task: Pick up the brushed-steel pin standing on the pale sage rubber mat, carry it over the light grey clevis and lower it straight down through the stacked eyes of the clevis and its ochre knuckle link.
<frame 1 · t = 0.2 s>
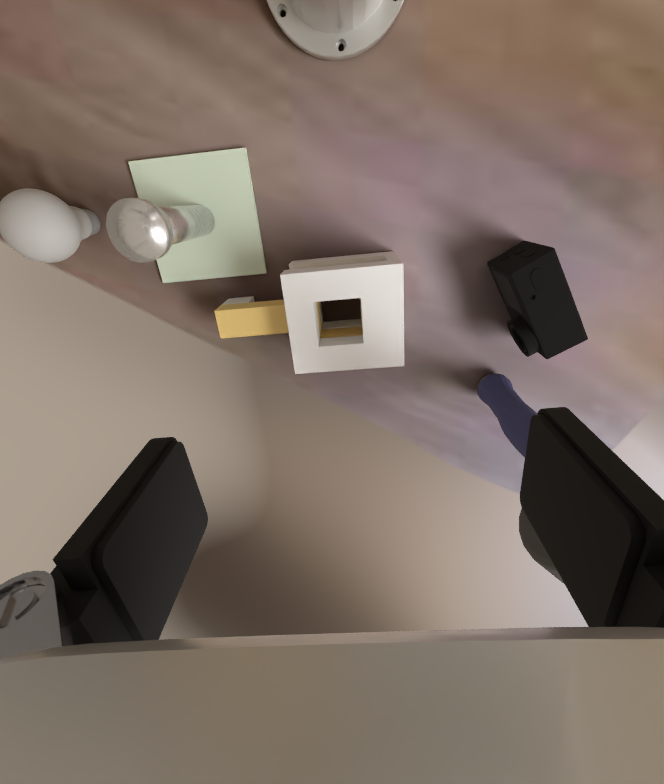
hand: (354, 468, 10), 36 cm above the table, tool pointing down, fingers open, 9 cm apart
lightbulb: (94, 221, 42), on the table
clevis: (340, 301, 45), on the table
steel pin: (200, 220, 41), resting on pin mat
digital camera: (515, 294, 44), on the table
rubber mallet: (489, 382, 49), on the table
pin mat: (202, 220, 41), on the table
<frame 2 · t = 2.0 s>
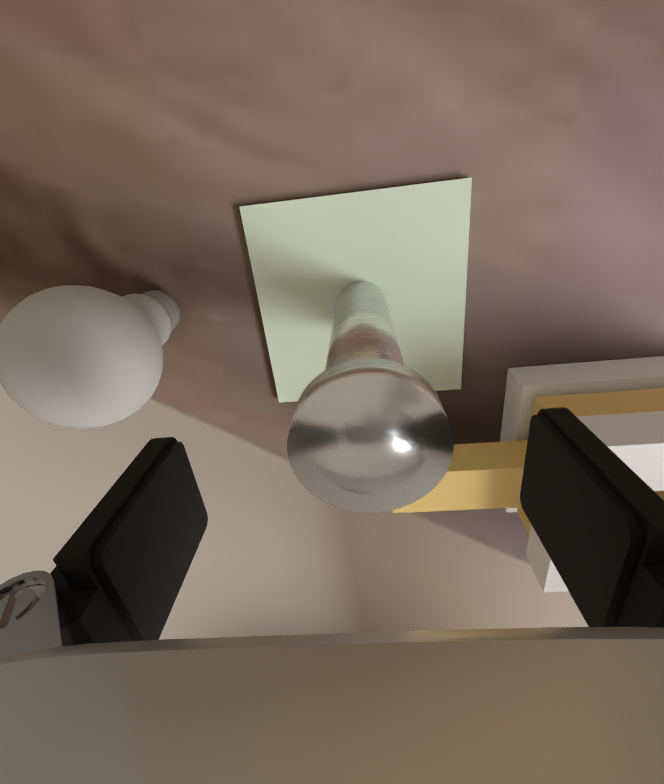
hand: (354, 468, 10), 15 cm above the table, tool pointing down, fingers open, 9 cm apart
lightbulb: (166, 306, 24), on the table
clevis: (576, 428, 26), on the table
steel pin: (361, 306, 23), resting on pin mat
pin mat: (360, 304, 23), on the table
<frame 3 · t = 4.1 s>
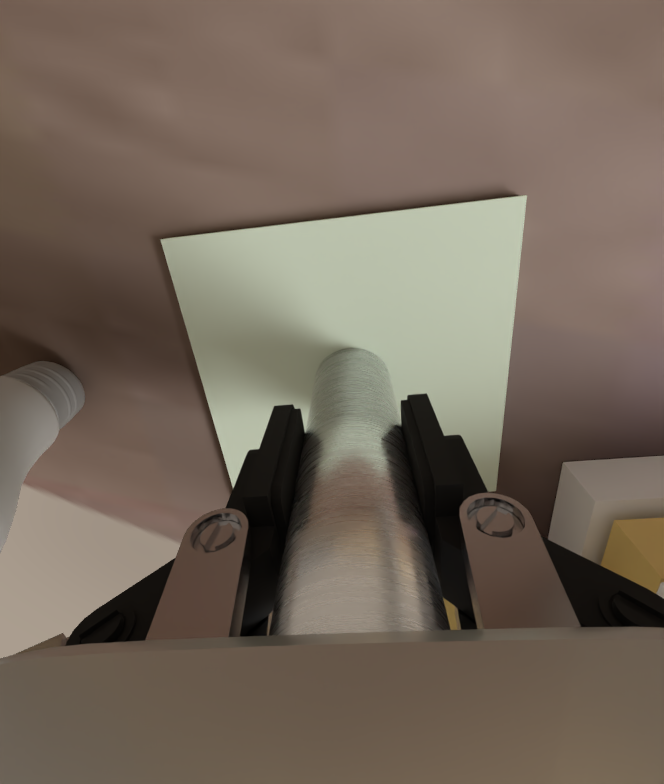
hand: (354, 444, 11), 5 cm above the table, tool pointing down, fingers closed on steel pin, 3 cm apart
lightbulb: (69, 379, 16), on the table
clevis: (652, 536, 19), on the table
steel pin: (352, 383, 15), point 1 cm above the table, touching gripper, pin mat
pin mat: (352, 378, 16), on the table
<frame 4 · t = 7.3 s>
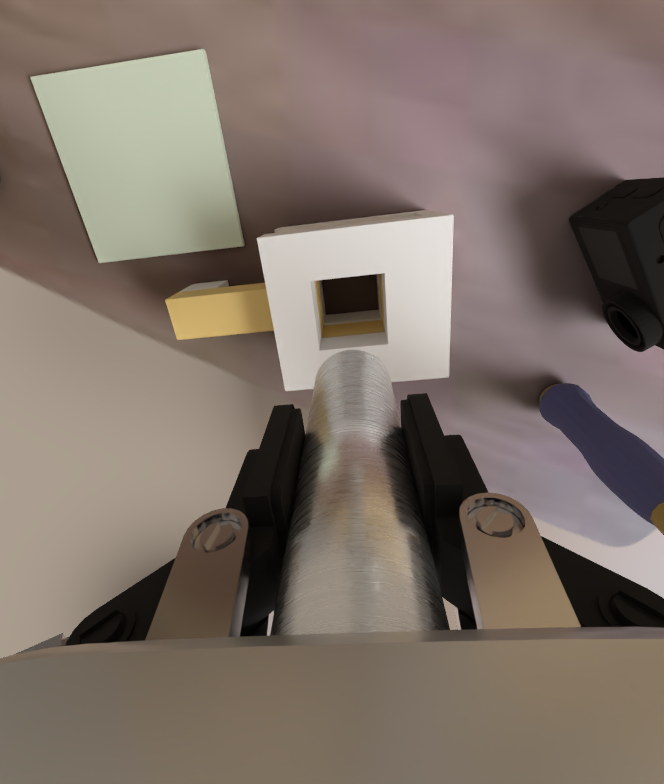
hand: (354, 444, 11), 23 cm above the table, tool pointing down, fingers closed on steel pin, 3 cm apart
clevis: (349, 285, 32), on the table
steel pin: (352, 385, 15), point 18 cm above the table, touching gripper
digital camera: (608, 262, 30), on the table
rubber mallet: (553, 395, 36), on the table
pin mat: (148, 168, 28), on the table
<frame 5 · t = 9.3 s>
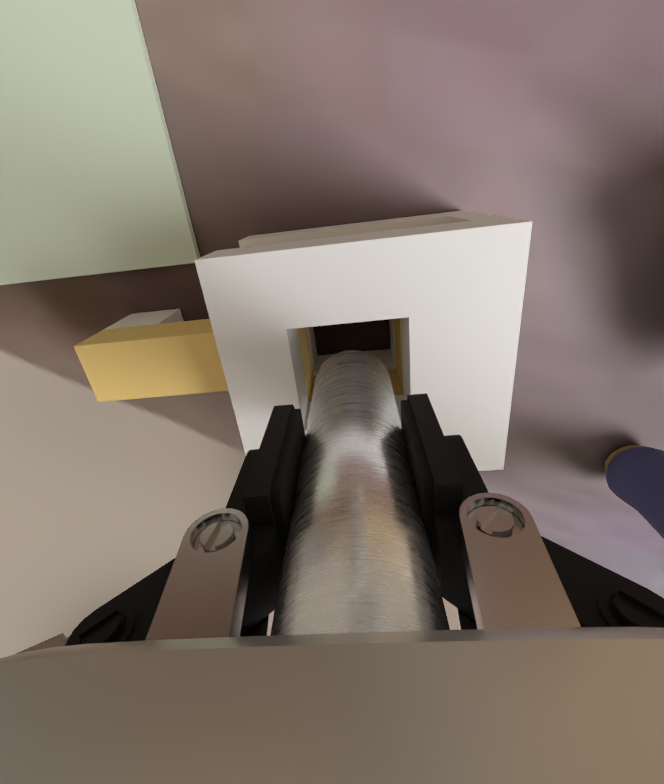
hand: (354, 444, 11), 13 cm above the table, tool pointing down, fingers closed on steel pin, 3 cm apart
clevis: (350, 316, 23), on the table
steel pin: (352, 385, 15), point 8 cm above the table, touching gripper
rubber mallet: (623, 457, 27), on the table
pin mat: (53, 149, 19), on the table
when the fingers open (9 cm above the table, at t = 10.9 s): steel pin drops 5 cm, resting in clevis.
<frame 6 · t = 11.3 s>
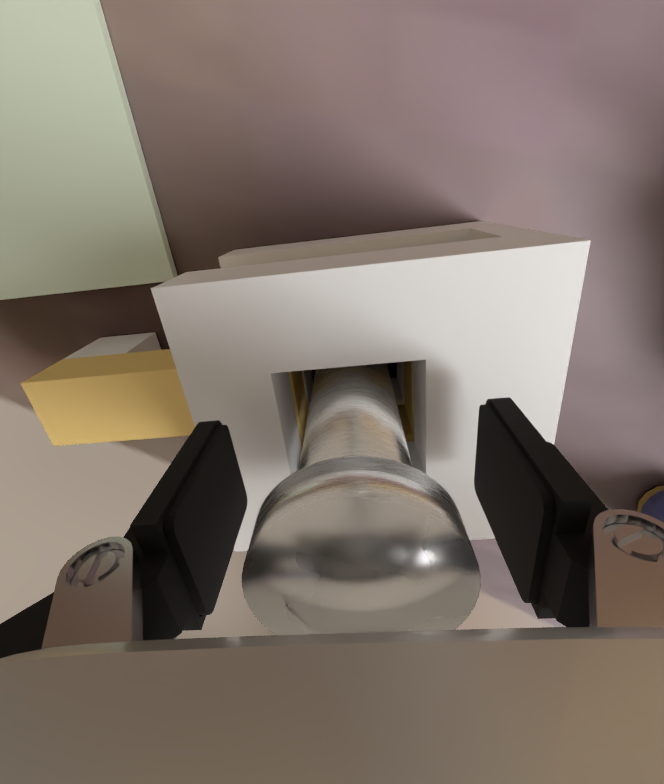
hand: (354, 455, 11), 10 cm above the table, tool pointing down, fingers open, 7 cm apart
clevis: (351, 341, 20), on the table
steel pin: (350, 341, 20), resting in clevis
rubber mallet: (658, 496, 24), on the table
pin mat: (2, 149, 16), on the table
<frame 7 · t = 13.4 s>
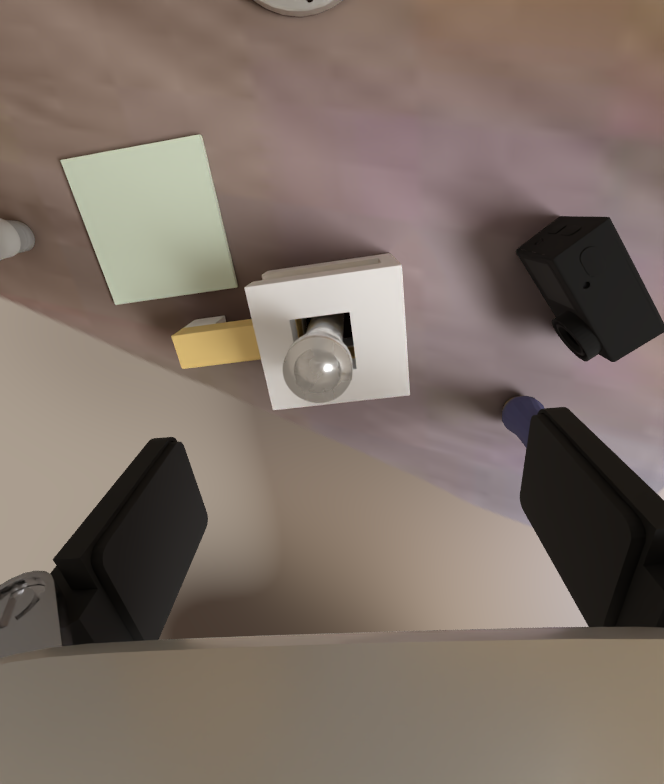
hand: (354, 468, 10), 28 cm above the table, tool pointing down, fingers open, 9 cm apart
lightbulb: (28, 235, 35), on the table
clevis: (329, 317, 37), on the table
steel pin: (328, 316, 37), resting in clevis
digital camera: (556, 284, 35), on the table
rubber mallet: (515, 406, 40), on the table
pin mat: (156, 227, 34), on the table
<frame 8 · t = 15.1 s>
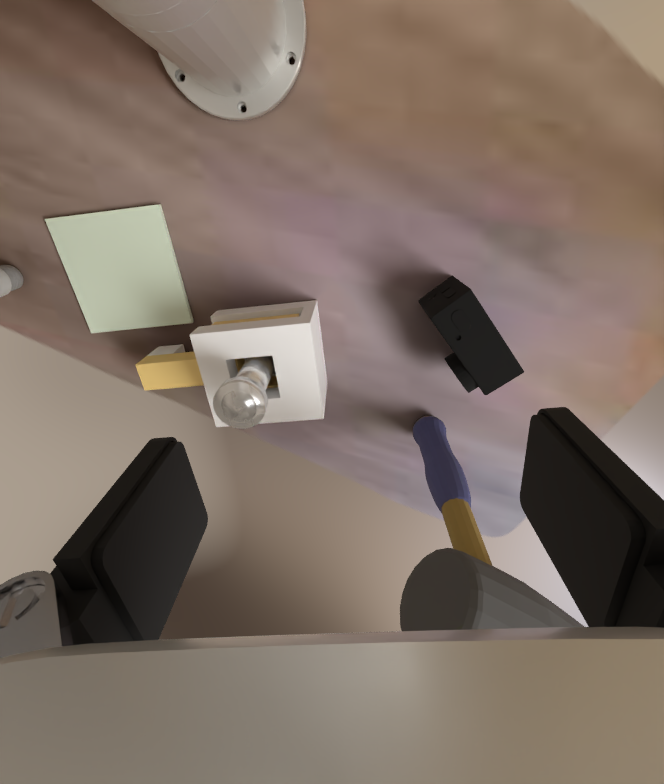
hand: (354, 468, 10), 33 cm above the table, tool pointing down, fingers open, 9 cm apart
lightbulb: (18, 275, 42), on the table
clevis: (269, 348, 45), on the table
steel pin: (269, 348, 45), resting in clevis
digital camera: (454, 327, 43), on the table
rubber mallet: (426, 423, 49), on the table
pin mat: (124, 273, 41), on the table
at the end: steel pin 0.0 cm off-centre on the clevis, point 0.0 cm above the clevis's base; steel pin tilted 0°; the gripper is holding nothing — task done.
